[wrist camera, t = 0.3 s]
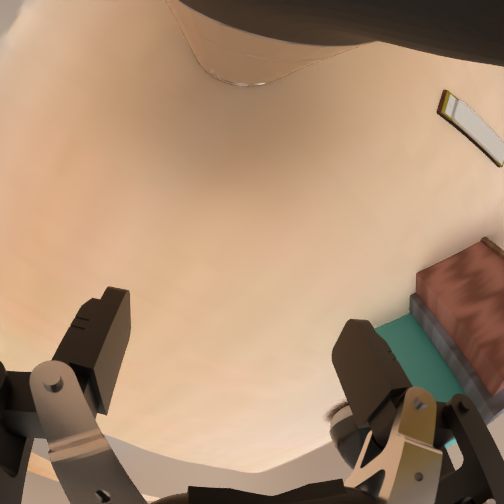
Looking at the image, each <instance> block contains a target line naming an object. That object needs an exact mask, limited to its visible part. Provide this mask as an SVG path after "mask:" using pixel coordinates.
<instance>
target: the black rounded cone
mask: <svg viewBox="0 0 504 504" xmlns="http://www.w3.org/2000/svg"><path fill="white" fill-rule="evenodd" d="M330 428H331V429H330V436H331V439H332V441H333V443H334V445H335V447H336V448H337V450H338V452H339V453H340V455H341V456H342V458H343V459H344V460H345V462H346V463H347V464H348V465H349V466H350V468H351V469H353V470H354V468H355V466H356V463H357V461H358V458H359V456H360V453H361V450H362V448H363V445H364V442H365V440H366V437H367V435H368V433H369V432H370V431H371V428H370V427H365V428H358V427H357V425H356V422H355V419H354V417H353V414H352V411H351V409H350V406H349V405H347V406H345V407H343V408H342V409H340V410H339V411H338V412H337V413H336V414H335V415H334V416H333V418H332V421H331V426H330Z"/></svg>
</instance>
